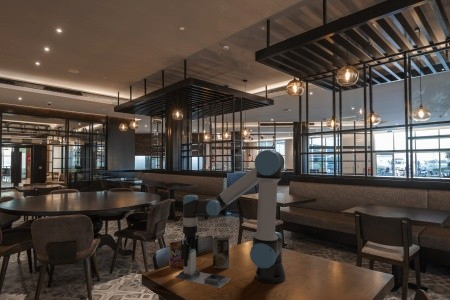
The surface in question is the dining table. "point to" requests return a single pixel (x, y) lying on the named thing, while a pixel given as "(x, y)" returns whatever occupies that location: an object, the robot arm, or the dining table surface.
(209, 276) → the panel
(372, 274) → the dining table surface
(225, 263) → the coffee box
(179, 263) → the candy box
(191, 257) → the white rectangular bottle
